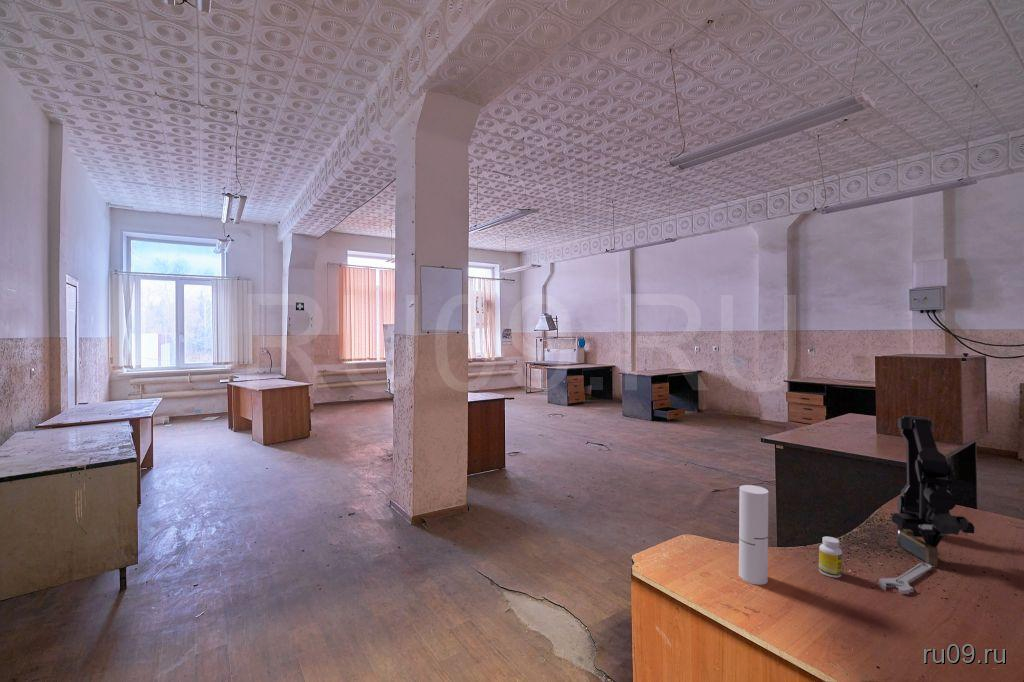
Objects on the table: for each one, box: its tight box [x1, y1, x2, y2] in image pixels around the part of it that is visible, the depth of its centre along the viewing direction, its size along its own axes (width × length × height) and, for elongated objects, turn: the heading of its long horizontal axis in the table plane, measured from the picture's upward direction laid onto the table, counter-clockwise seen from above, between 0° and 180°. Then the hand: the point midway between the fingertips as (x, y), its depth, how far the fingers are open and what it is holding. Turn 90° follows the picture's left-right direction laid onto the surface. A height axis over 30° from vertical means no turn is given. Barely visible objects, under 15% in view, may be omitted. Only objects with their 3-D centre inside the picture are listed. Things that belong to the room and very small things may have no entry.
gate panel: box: [896, 528, 930, 562], centre depth 142 cm, size 11×2×5 cm, turn 176°
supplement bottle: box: [818, 536, 843, 579], centre depth 131 cm, size 5×5×10 cm
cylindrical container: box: [738, 484, 769, 586], centre depth 128 cm, size 7×7×25 cm
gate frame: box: [903, 529, 939, 567], centre depth 141 cm, size 14×3×6 cm, turn 166°
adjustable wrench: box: [878, 562, 933, 595], centre depth 127 cm, size 25×6×2 cm, turn 116°
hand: (931, 550), depth 139 cm, fingers closed
